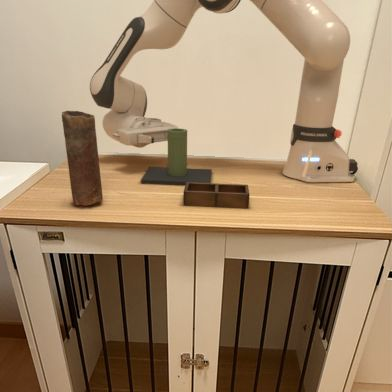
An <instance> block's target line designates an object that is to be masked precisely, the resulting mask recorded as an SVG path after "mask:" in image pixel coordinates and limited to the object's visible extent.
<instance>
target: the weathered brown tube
mask: <svg viewBox="0 0 392 392" xmlns="http://www.w3.org/2000/svg"><path fill="white" fill-rule="evenodd" d="M95 118H96V117H95V115H94V114H90V113H87V112H84V111H79V110H66V111H62V112H61V121H62V128H63V136H64V145H65V151H66V159H67V165H68V166H67V168H68V176H69V183H70V190H71V191H70V192H71V198H72V204H73V205H74V206H85V207H87V206H92V205H97V204H100V203H101V202H103V199H104V197H103V186H102V178H101V169H100V168H101V167H100V157H99V150H98V140H97V139H98V138H97V129H96V119H95Z"/></svg>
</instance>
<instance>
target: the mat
mask: <svg viewBox="0 0 392 392" xmlns="http://www.w3.org/2000/svg"><path fill="white" fill-rule="evenodd" d="M211 180H212V169H211V168H192V167H191V168H189V167H187V175H186V176H182V177H174V176H170V175H168V166H167V167H164V166H148V168H147V169H146V171H145V173H144V174H143V176H142V178H141V179H140V184H141V185H164V186H165V185H167V186H185V185H186V182H195V183H211Z"/></svg>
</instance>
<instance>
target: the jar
mask: <svg viewBox="0 0 392 392" xmlns="http://www.w3.org/2000/svg"><path fill="white" fill-rule="evenodd" d="M178 128H179V127H178ZM178 128H177V129H176V128H174V129H168V141H167V167H168V175H170V176H174V177H182V176H186V175H187V168H188V129H186V128H179V129H178Z"/></svg>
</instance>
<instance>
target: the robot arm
mask: <svg viewBox="0 0 392 392" xmlns="http://www.w3.org/2000/svg"><path fill="white" fill-rule="evenodd" d="M241 1H242V0H153V1H152V3H151V4H150V5H149V7H148V8H147V9H146V11H145V12H144V13H143V14H141V15H140V16H137V17H136V16H135V17H134V18H133V19H131V20H130V21H129V23H128V24H127V25H126V26H125V28H124V30H123V31H122V33H121V35H120V36H119V38H118V40H117V41H116V42H115V44H114V46H113V47H112V49H111V51H110V52H109V53H108V54H107V57H106V58H105V60H104V62H103V63H102V64H101V66H99V68H98V69H96V71H95V72H94V74H93V75H92V77H91V78H90V81H89V92H90V94H91V98H92V99H93V101H94V103H95V104H96V105H97V106H98V107H100V108H103V109H109V111H108V112H106V113H105V114H104V116H103V118H102V127H103V128H102V129H103V131H104V132H105V134H106V135H107V136H108V137H109V138H110V139H112V140H114V141H116V142H118V143H120V144H122V145H125V146H132V147H135V148H138V149H142V148H145V147H147V146H149V145H151V144H154V143H162V142H168V129H174V128H176V129H177V128H178V129H180V128H179V126H177V125H175V124H172V123H170V122H165V121H162V119H161V118H155V117H154V118H153V117H145V116H146V112H147V109H148V96H147V92H146V90H145V88H144V86H143V85H141V84H139V83H137V82H135V81H133V80H131V79H129V78H126V77H123V76H121V75H122V73H123V72H124V71H125V69H126V68H127V66H128V65H129V63H130V62H131V60H132V58H133V57H134V56H135V55H136V54H137V53H138V52H141V51H144V50H169V49H173V47H175V46H176V45H178V43H179V42H180V41H181V40H182V38H183V37H184V34H185V33H186V31H187V29H188V27H189V25H190V23H191V21H192V19H193V18H194V16H195V15H196V13H197V12H198V11H199V9H201V8H204V9H205V10H206V11H209V12H212V13H214V14H227V13H230V12H232V11H234V10H235V9H236V8H237V7H238V6H239V4H240V3H241ZM249 1H250V2H251V3H252V4H253V5H254V6H255V7H256V8H257V9H258V10H259V11H260V12H261V13H262V14H263V15H264V16H265V18H266V19H268V21H269V22H270V23H271V24H272V25H273V26H274V27H275V28H276V29H277V30H278V31H279V32H280V33H281V34H282V35H283V36H284V37H285V39H286V40H287V41H288V42H289V43H290V44H291V45H292V46H293V47H294V49H296V51H298V52H299V54H300V55H301V56H302V57H303V58H304V61H303V67H302V73H301V81H300V87H299V93H298V98H297V107H296V113H295V114H296V115H295V120H294V123H293V125H292V128H291V134H290V139H289V140H290V141H289V142H290V146H289V151H288V155H287V158H286V161H285V163H284V166H283V170H282V171H281V173H282V175H284V176H286V177H288V178H291V179H295V180H300V181H303V182H305V183H352V182H354V181H355V177H356V176H355V174H356V173H357V172H358V170H359V167H358V162H357V161H356V160H355V159H354V158H350V156H349V155H348V154H347V152H346V150H344V149H343V147H342V146H341V145H340V144H339V143H338V142H337V141H336V140H337V139H339V138H341V137H342V134H343V132H342V131H341V130H340V129H336V128H335V127H334V126H333V123H334V119H335V113H336V108H337V103H338V99H339V92H340V86H341V78H342V73H343V68H344V62H345V59H346V57H347V55H348V53H349V50H350V47H351V34H350V30H349V28H348V26H347V25H346V23H344V21H343V20H342V19H341V18H340V17H339V16H338V15H337V14H336V13H335V12H334V11H333V10H332V9H331V8H330V7H329V5H328V4H326V3H325V2H324V1H323V0H249Z"/></svg>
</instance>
